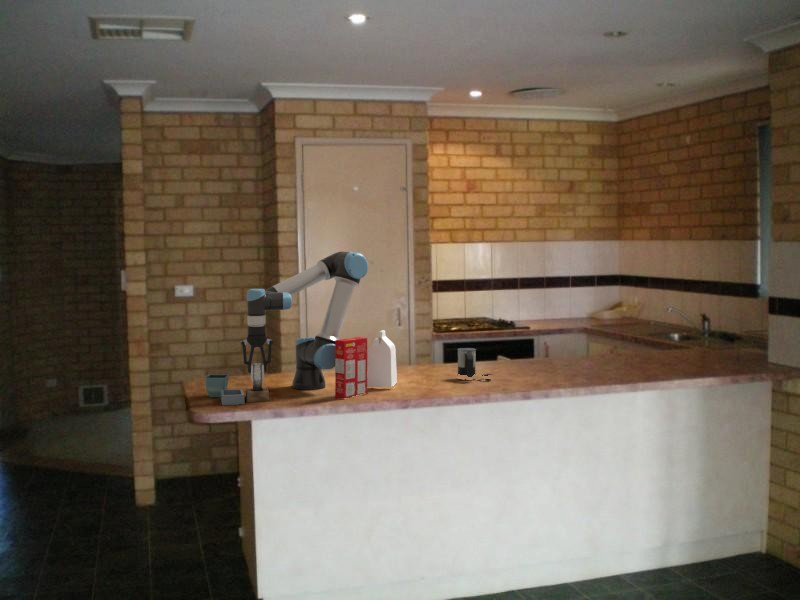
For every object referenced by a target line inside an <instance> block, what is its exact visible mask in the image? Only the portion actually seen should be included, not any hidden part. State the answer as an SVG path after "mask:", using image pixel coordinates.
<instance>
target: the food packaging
mask: <svg viewBox="0 0 800 600" xmlns="http://www.w3.org/2000/svg"><path fill="white" fill-rule="evenodd" d="M334 368H335V369H334V370H335V371H334V374H335V375H334V376H335V377H334V378H335V380H334V381H335V382H334V383H335V385H334V386H335V387H334V388H335V390H334V392H335V393H334V395H335V397H337V398H336V399H339V398H348V397H352V396H356V395H360V394H364V393H367V394H368V389H367V377H368V337H361V336H356V337H350V338H342V339H339V340H335V367H334Z"/></svg>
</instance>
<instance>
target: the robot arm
mask: <svg viewBox="0 0 800 600" xmlns="http://www.w3.org/2000/svg"><path fill="white" fill-rule="evenodd" d="M368 271H369V261H368V260H367V258H366V256H365V255H364V254H362V253H360V252H355V251H338V252H334V253H332V254H331V255H328V256H326V257H324V258H322V259H321V260H318V261H317V263H316V264H315V265H313V266H311V267H309V268H307V269H305V270H302V271H301V272H299V273H297V274H295V275H293V276H291V277H289V278H287V279H285V280H282V281H280V282H279V283H277V284H274V285H272V286H271V287H268V288H266V289H265V288H249V289H248V290H247V293H246V306H247V307H246V309H247V315H246V316H247V325H248V326H247V336H246V338H245V339H244V340H241V341H240V344H241V346H242V357H243V358H242V359H243V361H242V362H243V363H244V365H247V372H248V373H249V374H250V381H251V382H253V365H252V364H253V363H252V362H253V358H254V357H253V356H254V351H255V348H259V351H260V355H261V359H262V363H261V364H262V381H265V373H266V372H267V365H268V364H271V362H272V344H273V339H271V338H270V339H269V338H267V335H266V334H267V333H266V332H267V331H266V327H267V326H265V325H266V311H267V312H269V311H285V310H290V309H291V308H292V305H293V297H292V296H293V295H296V294H297V293H300V292H302V291H303V290H306V289H308V288H310V287H312V286H314V285H315V284H319V282H322V281H324V280H325V281H329V280H331V279H333V278H334V280H335V285H334V287H333V291H332V294H331V297H330V300H329V303H328V307H327V310H326V313H325V317H324V319H323V322H322V326H321V329H320V332H319V333H317V334H316V335H315V336H309V337H299V338H297V339H296V341H295V373H294V376H293V379H292V382H291V383H292V384H291V385H292V388H293V389H295V390H307V391H308V390H309V391H310V390H321V389H323V388H326V380H325V376H324V374H323V370H331V369H334V368H335V340H340V334H341V332H342V328H343V327H344V326H343V324H344V323H345V319H346V316H347V313H348V309H349V306H350V303H351V300H352V296H353V294H354V289H355V288H356V287H357V286H359V285H360V282H361V279H362V278H364V277H365V276H366V275H367V274H368ZM247 343H248V344H249V345H250V350H249V355H248V357H247V347H246V346H247ZM265 344H267V357H266V355H265V351H264V345H265ZM247 358H248V359H247ZM266 359H267V360H266Z"/></svg>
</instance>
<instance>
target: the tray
mask: <svg viewBox="0 0 800 600" xmlns="http://www.w3.org/2000/svg"><path fill="white" fill-rule="evenodd" d="M220 402H221V405H222V406H236V405H237V406H238V405H239V404H242V405H245V393H244V391H243V388H236V389H235V388H233V389H226V390H221V398H220Z"/></svg>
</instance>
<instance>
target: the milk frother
mask: <svg viewBox="0 0 800 600" xmlns="http://www.w3.org/2000/svg"><path fill="white" fill-rule="evenodd" d="M476 351H477V348H472V347H460V348H457V375H458V374H460V375H467V376H468V377H472V376H473V375H474V374H475V375H476V359H477V358H476V355H477V354H476ZM481 375H482V376H483V375H484V376H488V375H493V374H490V373H487V374H486V373H485V374H481Z"/></svg>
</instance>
